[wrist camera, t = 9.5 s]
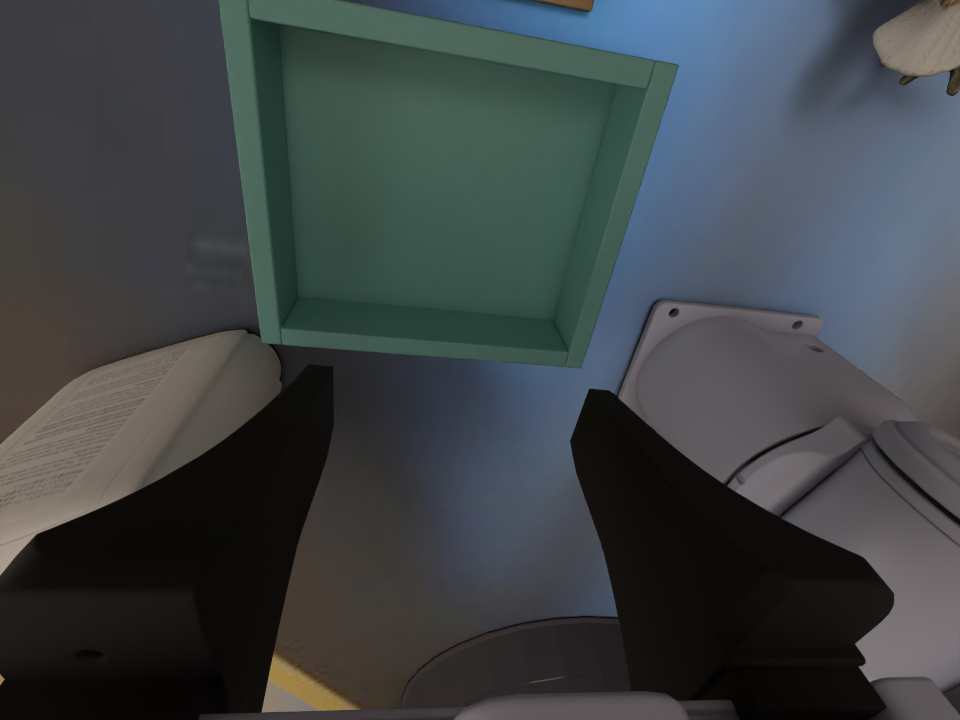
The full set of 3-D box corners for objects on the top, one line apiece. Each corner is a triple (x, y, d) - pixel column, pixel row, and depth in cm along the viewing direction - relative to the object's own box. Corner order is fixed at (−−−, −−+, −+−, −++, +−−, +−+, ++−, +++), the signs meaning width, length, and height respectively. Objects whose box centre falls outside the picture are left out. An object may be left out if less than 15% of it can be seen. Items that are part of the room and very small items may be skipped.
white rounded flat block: (122, 433, 25) (-97, 700, 15) (61, 372, 22) (-252, 638, 12) (299, 383, 24) (200, 627, 14) (255, 313, 22) (95, 546, 11)
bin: (637, 63, 17) (680, 64, 14) (562, 329, 24) (581, 368, 21) (257, -8, 15) (214, -24, 12) (284, 303, 22) (260, 343, 19)
